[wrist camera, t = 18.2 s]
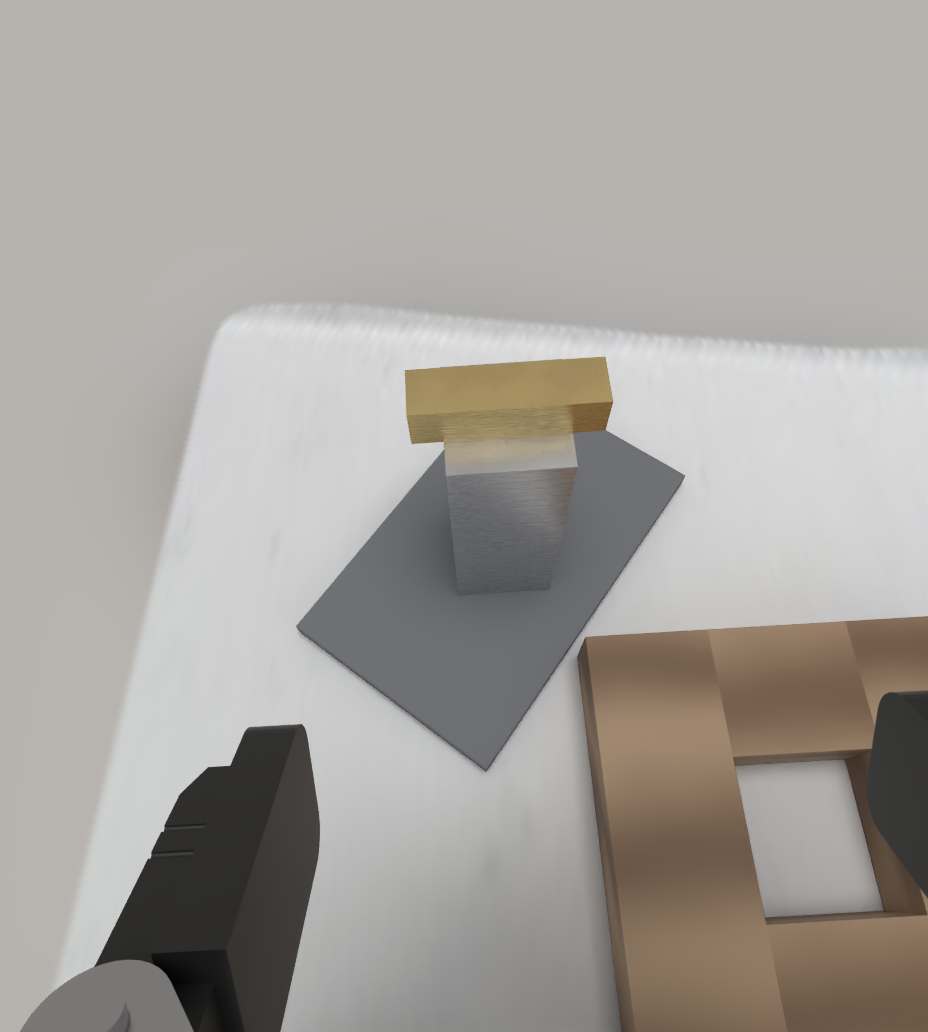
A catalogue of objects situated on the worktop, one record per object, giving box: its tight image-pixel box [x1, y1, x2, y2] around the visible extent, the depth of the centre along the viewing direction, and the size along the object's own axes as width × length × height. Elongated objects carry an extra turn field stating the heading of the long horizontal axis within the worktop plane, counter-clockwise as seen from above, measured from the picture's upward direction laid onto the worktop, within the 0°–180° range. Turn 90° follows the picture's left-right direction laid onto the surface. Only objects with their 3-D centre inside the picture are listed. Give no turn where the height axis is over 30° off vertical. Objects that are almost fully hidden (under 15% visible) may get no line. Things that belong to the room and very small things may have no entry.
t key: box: [405, 357, 613, 596], centre depth 28 cm, size 6×4×13 cm, turn 93°
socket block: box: [577, 616, 928, 1032], centre depth 28 cm, size 15×15×3 cm
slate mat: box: [296, 430, 685, 771], centre depth 34 cm, size 16×10×1 cm, turn 144°
